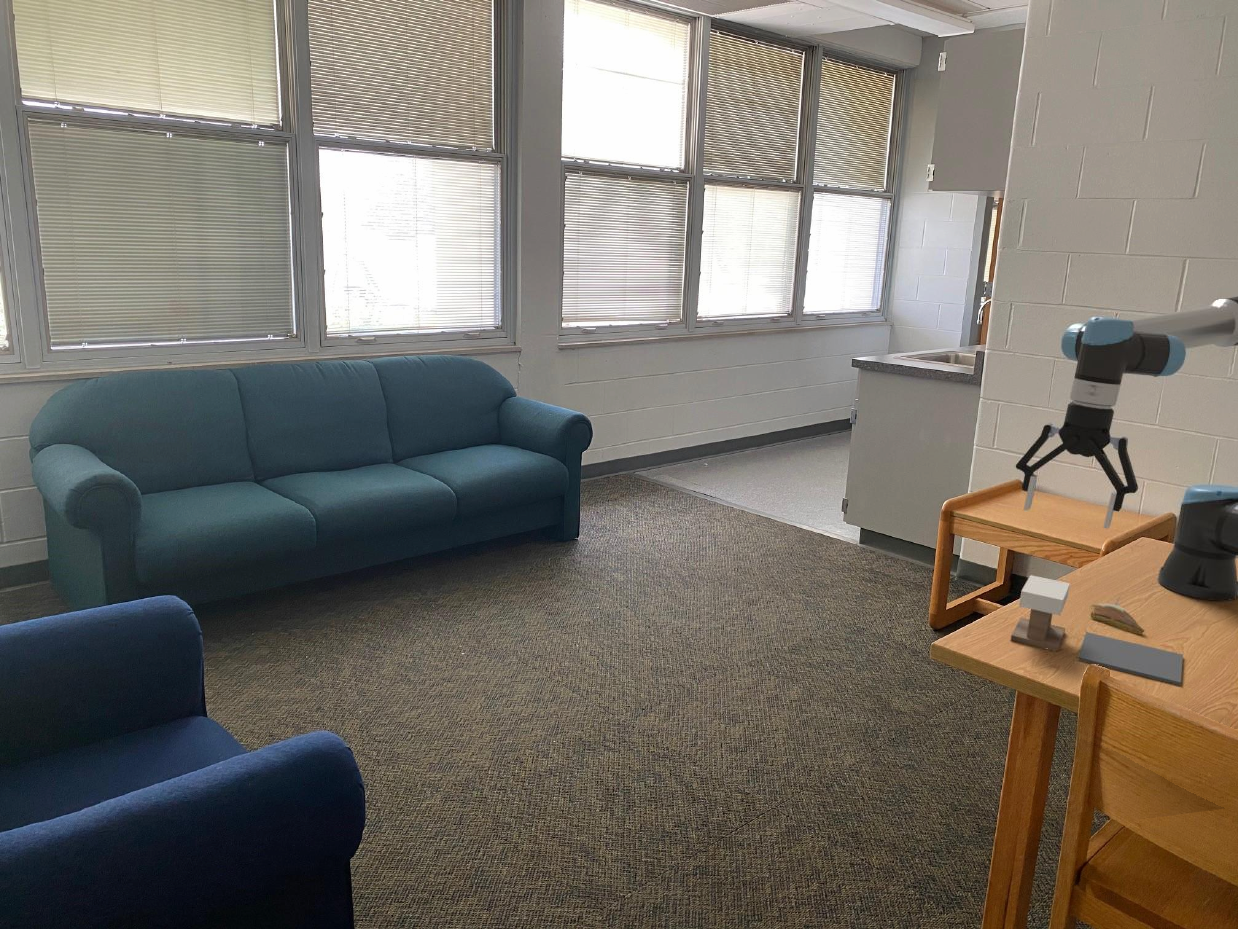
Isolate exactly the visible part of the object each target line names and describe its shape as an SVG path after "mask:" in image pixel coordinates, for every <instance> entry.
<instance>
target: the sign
mask: <svg viewBox="0 0 1238 929" xmlns="http://www.w3.org/2000/svg"><path fill="white" fill-rule="evenodd" d="M1121 596H1122V594H1120V595H1119V597H1118V598H1117V599H1116V601H1115V603H1114V604H1111V603H1099V604H1098V605H1101V606H1111V607H1116V608H1119V609H1122V610H1125V611H1126V612H1127V609H1125V608H1124V607H1122V606H1119V605H1117V604H1118V602H1119V600H1120V599H1121ZM1127 613H1128V612H1127Z"/></svg>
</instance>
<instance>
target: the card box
mask: <svg viewBox="0 0 1238 929" xmlns="http://www.w3.org/2000/svg"><path fill="white" fill-rule="evenodd" d="M1070 586H1071V583H1069V582H1066V581H1065V582H1064V581H1060V580H1055V579H1050V578H1045V577H1041V576H1037V575H1029V577H1028V578H1027V580H1026V582H1025V584H1024V586H1023V587H1022V589H1021V593H1020V598H1019V604H1018V607H1021V608H1025V609H1028V610H1029V609H1030V610H1031V609H1034V610H1038V611H1042V612H1047V613H1051V614H1052V615H1056V616H1061V615H1062V612H1063V611H1064V610H1063V609H1064V608H1065V605H1066V603H1067V600H1068V597H1069V593H1070Z"/></svg>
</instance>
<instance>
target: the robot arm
mask: <svg viewBox="0 0 1238 929" xmlns="http://www.w3.org/2000/svg"><path fill="white" fill-rule="evenodd" d="M1060 344H1061V345H1060V346H1061V351H1062V353H1063V355H1064V357H1066V358H1067V359H1068V360H1071V361H1074V362H1077V363H1076V368H1075V373H1074V376H1073V380H1072V381H1073V382H1072V385H1071V391H1070V393H1069V399H1070V400H1071V401H1070V402H1069V403H1068V405H1067V406H1066V407H1067V408H1066V413H1065V417H1064V422H1063V425H1062V426H1061V427H1059V426H1055V425H1053V424H1052V423H1047V424H1045V425H1043V427H1042V430H1041V434H1040V436H1039V437H1038V438H1037V440H1035V442H1034V443H1033V444H1032V445H1031V446H1030V447H1029V449H1028V450H1027V452H1026V453H1025V454H1024V455H1023V456H1022V457H1021V458H1020V459H1019V460H1018V462H1017V463H1016V464H1015V468H1016V470H1019V471H1021V472H1023V474H1024V476H1023V482H1022V485H1021V486H1022V487H1021V490H1022V492H1023V491H1024V492H1026V498H1025V502H1024V507H1023V510H1024V511H1029V510H1030V509H1032V504H1033V499H1034V494H1035V490H1036V485H1037V480H1038V477H1039V475H1038V474H1037V473H1036V474H1035V473H1034V472H1036V471H1038V470H1039V469H1041V468H1042V467H1043V466H1045V465H1046V464H1047V463H1049V462H1050V461H1052V460H1053V459H1055V458H1056V457H1057V456H1059V455H1060V454H1062V453H1064V452H1065V451H1067V452H1068V453H1069V454H1070V455H1078V456H1079V455H1080V456H1082V457H1084V458H1091V457H1094V458H1095V460H1096V461H1097V462H1098V463H1099V465H1100V467H1101V468H1102V470H1103V471H1104V473H1105V475H1106V477H1107V478H1108V480H1109V481H1110V483H1111V484H1112V486H1113V488H1114V490H1113V491H1112V492H1111V495H1110V499H1109V503H1108V506H1107V511H1106V515H1105V519H1104V524H1103V527H1102V528H1103V529H1106V530H1109V528H1110V527H1111V522H1112V519H1113V515H1114V512H1118V513H1119V512H1120V510H1121V509H1122V507H1123V503H1124V499H1125V496H1126V494H1136V493H1137V491H1138V490H1139V485H1138V482H1137V478H1136V476H1135V473H1134V469H1133V466H1132V465H1133V464H1132V462H1131V459H1130V455H1129V452H1128V444H1129V439H1128V437H1126V436H1122V437H1114V436H1113V437H1112V436H1111V434H1110V433H1111V432H1110V431H1111V427H1112V423H1113V419H1114V414H1115V410H1114V409H1113V408H1112V407H1115V406H1116V404H1117V401H1118V397H1119V392H1120V389H1121V385H1122V380H1123V377H1124V374H1129V375H1130V374H1131V375H1140V376H1141V375H1142V376H1150V377H1154V378H1157V377H1169V376H1172V375H1175V374H1176V373H1177V372H1178V371H1180V369H1181V368H1182V367H1183V365H1184V363H1185V361H1186V360H1185V359H1186V355H1187V352H1186V351H1187V349H1193V348H1197V347H1198V348H1199V347H1204V346H1208V345H1210V346H1211V345H1215V346H1217V347H1220V348H1227V347H1228V348H1229V347H1235V346H1238V296H1233V297H1227V298H1221V299H1218V300H1215V301H1213V302H1211V303H1210V304H1209V305H1208V306H1203V307H1198V308H1193V309H1184V310H1180V311H1174V312H1167V313H1160V314H1156V315H1155V314H1154V315H1150V316H1149V315H1148V316H1143V317H1137V318H1131V319H1121V318H1115V317H1114V318H1113V317H1105V316H1092V317H1090V318H1089V319H1088V320H1087V322H1084V323H1083V322H1077V323H1073V324H1072V325H1070V326H1069V327H1068V328H1066V330H1065V332H1064V333H1063V335H1062V337H1061V343H1060ZM1056 434H1058V435H1059V438H1060V440H1061V442H1062V443H1061V444H1060V445H1058V446H1057V447H1056V448H1054V449H1053V450H1051V451H1049V453H1047V454H1046V455H1044V456H1043V457H1041V458H1040V459H1039V460H1037V461H1036V462H1034V463H1033V464H1032V465H1029V464H1028V463H1029V462H1030V461H1031V460H1032V459H1033V458H1034V456H1036V454H1037V453H1038V452H1039V450H1040V449H1041V448H1042V447H1043V446H1044V445H1045V443H1046V442H1047V441H1048V439H1049V438H1053V437H1054V436H1055V435H1056ZM1110 444H1112V446H1113V448H1114V450H1115V451H1117V454H1118V458H1119V462H1120V465H1121V469H1122V471H1123V476H1124V478H1125V482H1126V485H1125V483H1124V482H1123V481H1122V479H1121V477H1120V476H1119V474H1118V472H1117V470H1116V469H1115V467H1114V466H1113V464H1112V463H1111V460H1109V458H1108V455H1107V454H1106V452H1105V450H1104V448H1106V447H1107V446H1108V445H1110ZM1237 556H1238V486H1232V485H1222V484H1221V485H1220V484H1195V485H1191V486H1188V488H1186V489H1185V491H1184V495H1183V499H1182V501H1181V503H1180V510H1179V516H1178V521H1177V528H1176V533H1175V538H1174V543H1173V548H1172V550H1171V551H1170V553H1169V555H1168V556H1167V558H1166V560H1165V562H1164V563H1163V565H1162V567H1160V569H1159V571H1158V576H1157V582H1158V583H1159V584H1160V585H1161V586H1163V587H1164V588H1166V589H1168V590H1170V591H1172V592H1174V593H1178V594H1182V595H1184V596H1188V597H1192V598H1195V599H1201V600H1207V601H1218V600H1225V601H1230V600H1229V599H1232V600H1235V599H1236V598H1235V597H1237V598H1238V572H1237V563H1236V560H1237V559H1236V558H1237ZM1234 598H1235V599H1234Z"/></svg>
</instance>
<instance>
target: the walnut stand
mask: <svg viewBox="0 0 1238 929" xmlns="http://www.w3.org/2000/svg"><path fill="white" fill-rule="evenodd" d="M1029 615H1030V616H1029V618H1025V617H1024V618H1023V617H1019V620H1018V622H1017V624H1016V626H1015V628H1014V630H1013V632H1012V633H1011V635H1010V641H1012V642H1017V643H1020V644H1024V643H1025V645H1028V644H1029V646H1032V645H1034V646H1033V647H1037V648H1040V647H1042V648H1041V649H1044V648H1048V649H1050V650H1049V651H1052V650H1055V651H1054V652H1056V651H1057V650H1059V648H1060V645H1061V643H1062V641H1063V637H1064V635H1065V631H1066V628H1065V627H1063V626H1058V625H1055V624H1054V625H1053V624H1052V620H1053V619H1052V618H1053V614H1051V613H1047V612H1042V611H1038V610H1034V609H1030V613H1029ZM1048 649H1047V650H1048ZM1057 652H1058V651H1057Z"/></svg>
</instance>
